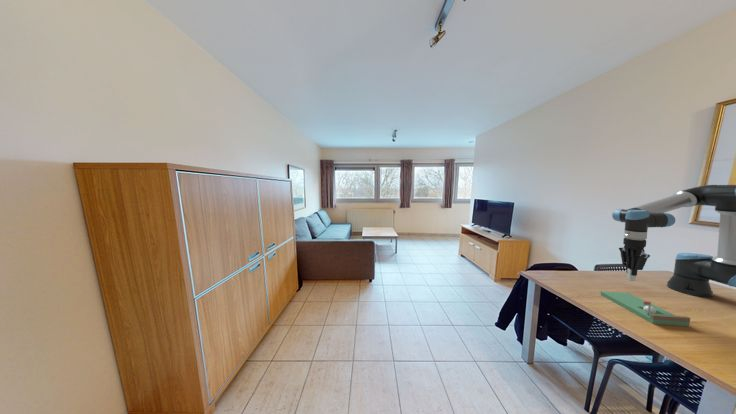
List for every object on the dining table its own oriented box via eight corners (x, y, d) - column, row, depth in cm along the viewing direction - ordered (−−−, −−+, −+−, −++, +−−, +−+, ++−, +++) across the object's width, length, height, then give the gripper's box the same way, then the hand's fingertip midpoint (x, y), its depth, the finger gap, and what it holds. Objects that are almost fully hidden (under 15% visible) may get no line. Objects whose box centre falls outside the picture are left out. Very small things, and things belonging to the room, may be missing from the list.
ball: (648, 310, 106) (651, 304, 105) (657, 316, 103) (660, 310, 101) (639, 309, 107) (642, 303, 106) (648, 316, 103) (651, 309, 102)
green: (628, 296, 121) (630, 281, 120) (689, 326, 95) (692, 308, 94) (598, 294, 123) (600, 280, 122) (650, 323, 97) (652, 305, 96)
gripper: (614, 235, 118) (611, 274, 120) (640, 241, 105) (635, 285, 108) (629, 235, 117) (626, 275, 119) (658, 241, 104) (653, 286, 106)
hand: (630, 280), depth 113 cm, fingers closed
